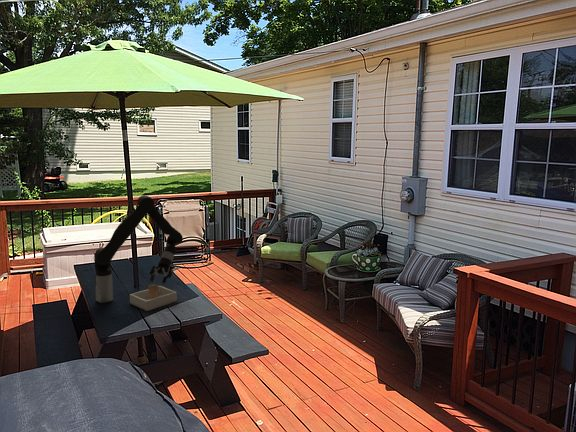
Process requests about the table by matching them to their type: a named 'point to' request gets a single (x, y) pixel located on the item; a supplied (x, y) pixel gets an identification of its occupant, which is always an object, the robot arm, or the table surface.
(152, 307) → the bin
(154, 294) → the jar
